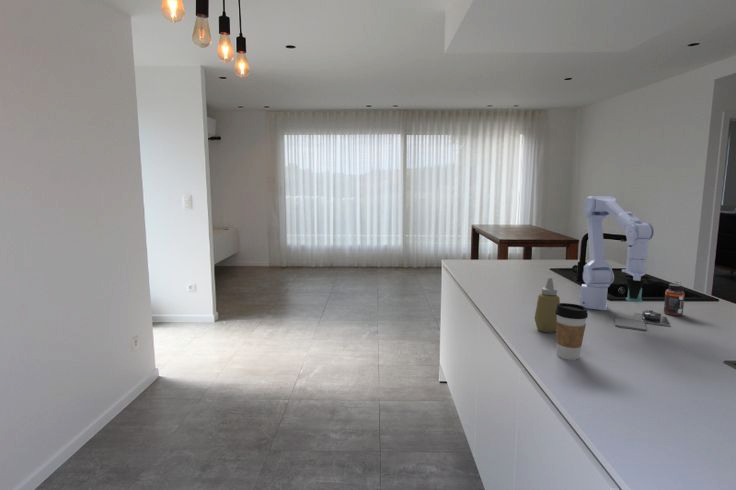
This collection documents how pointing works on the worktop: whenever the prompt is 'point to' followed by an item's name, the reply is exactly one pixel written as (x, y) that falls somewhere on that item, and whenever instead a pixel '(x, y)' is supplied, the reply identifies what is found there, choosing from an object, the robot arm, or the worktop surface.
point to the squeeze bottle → (547, 308)
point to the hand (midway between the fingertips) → (632, 296)
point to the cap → (635, 299)
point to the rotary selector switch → (651, 318)
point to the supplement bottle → (674, 300)
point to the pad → (630, 324)
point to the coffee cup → (570, 329)
